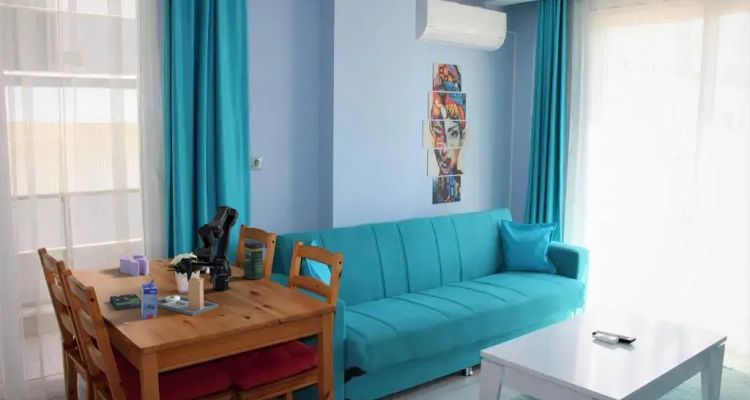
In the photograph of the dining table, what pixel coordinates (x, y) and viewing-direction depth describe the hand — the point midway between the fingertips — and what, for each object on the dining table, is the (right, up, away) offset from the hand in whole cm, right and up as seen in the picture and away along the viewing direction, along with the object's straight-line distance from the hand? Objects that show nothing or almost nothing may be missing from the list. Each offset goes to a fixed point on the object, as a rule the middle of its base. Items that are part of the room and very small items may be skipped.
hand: (199, 282), depth 261 cm
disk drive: (-31, -10, +3) cm, 33 cm away
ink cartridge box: (-16, -12, -12) cm, 23 cm away
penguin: (-12, -3, +64) cm, 66 cm away
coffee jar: (+12, -5, +55) cm, 56 cm away
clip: (-47, -2, +58) cm, 75 cm away
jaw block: (-1, -10, -3) cm, 11 cm away
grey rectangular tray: (-6, -10, +1) cm, 12 cm away
